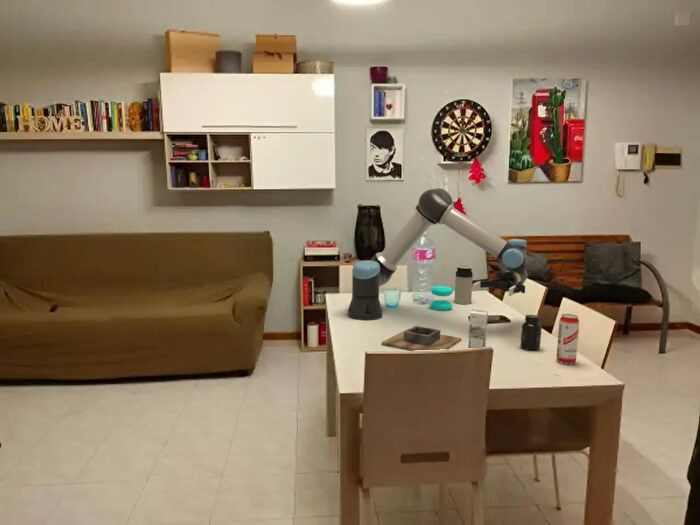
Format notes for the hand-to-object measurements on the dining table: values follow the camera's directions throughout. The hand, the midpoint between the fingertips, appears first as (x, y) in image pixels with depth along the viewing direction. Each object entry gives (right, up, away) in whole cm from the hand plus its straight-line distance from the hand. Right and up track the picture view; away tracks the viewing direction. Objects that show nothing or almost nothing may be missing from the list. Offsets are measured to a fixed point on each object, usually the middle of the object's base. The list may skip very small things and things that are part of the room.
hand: (491, 290), depth 204 cm
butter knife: (+10, -24, -19) cm, 32 cm away
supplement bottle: (+13, -21, -2) cm, 25 cm away
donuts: (-10, -11, +54) cm, 56 cm away
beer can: (+21, -24, -16) cm, 36 cm away
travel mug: (+3, -10, +66) cm, 67 cm away
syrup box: (-7, -21, -6) cm, 23 cm away
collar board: (-25, -20, +2) cm, 32 cm away
